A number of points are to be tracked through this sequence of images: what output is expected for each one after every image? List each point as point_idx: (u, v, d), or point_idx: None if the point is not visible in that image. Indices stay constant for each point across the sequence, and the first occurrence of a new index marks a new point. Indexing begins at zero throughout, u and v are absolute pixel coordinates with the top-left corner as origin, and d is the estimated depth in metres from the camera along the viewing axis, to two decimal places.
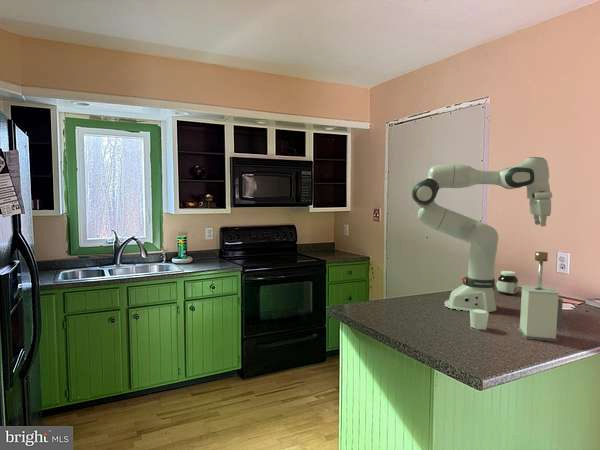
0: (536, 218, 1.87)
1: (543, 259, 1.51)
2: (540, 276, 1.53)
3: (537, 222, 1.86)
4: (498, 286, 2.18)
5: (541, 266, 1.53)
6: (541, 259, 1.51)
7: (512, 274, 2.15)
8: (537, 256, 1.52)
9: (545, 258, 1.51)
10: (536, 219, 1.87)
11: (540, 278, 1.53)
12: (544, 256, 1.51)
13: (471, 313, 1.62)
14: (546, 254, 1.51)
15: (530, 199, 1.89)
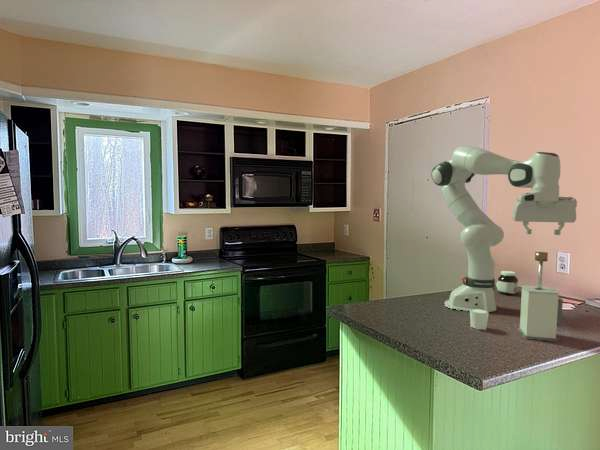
0: (559, 227, 1.51)
1: (543, 259, 1.51)
2: (540, 276, 1.53)
3: (555, 231, 1.51)
4: (498, 286, 2.18)
5: (541, 266, 1.53)
6: (541, 259, 1.51)
7: (512, 274, 2.15)
8: (537, 256, 1.52)
9: (545, 258, 1.51)
10: (558, 228, 1.51)
11: (540, 278, 1.53)
12: (544, 256, 1.51)
13: (471, 313, 1.62)
14: (546, 254, 1.51)
15: None
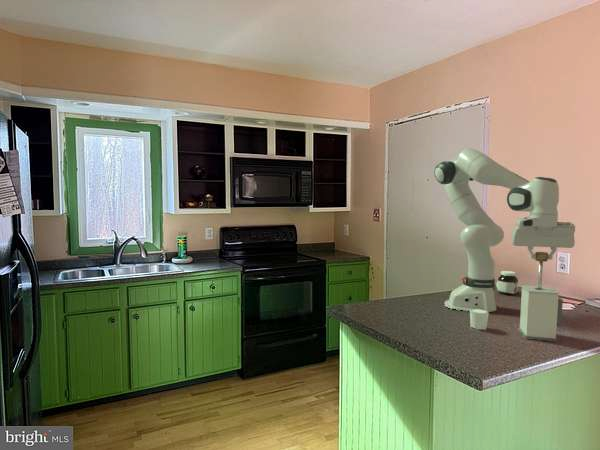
0: (551, 251, 1.52)
1: (543, 259, 1.51)
2: (540, 276, 1.53)
3: None
4: (498, 286, 2.18)
5: (541, 266, 1.53)
6: (541, 259, 1.51)
7: (512, 274, 2.15)
8: (537, 257, 1.52)
9: (545, 258, 1.51)
10: (550, 253, 1.52)
11: (540, 278, 1.53)
12: (544, 257, 1.51)
13: (471, 313, 1.62)
14: (546, 254, 1.51)
15: None
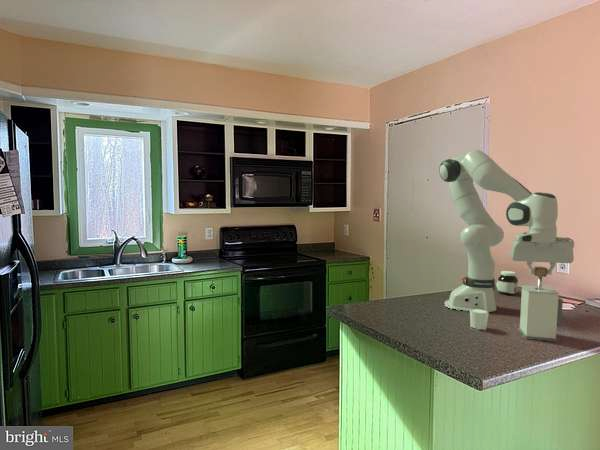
0: (550, 267, 1.53)
1: (542, 274, 1.51)
2: None
3: None
4: (498, 286, 2.18)
5: (540, 281, 1.53)
6: (540, 274, 1.52)
7: (512, 274, 2.15)
8: (536, 272, 1.53)
9: (544, 273, 1.51)
10: (549, 268, 1.53)
11: None
12: (543, 272, 1.51)
13: (471, 313, 1.62)
14: (545, 269, 1.51)
15: None
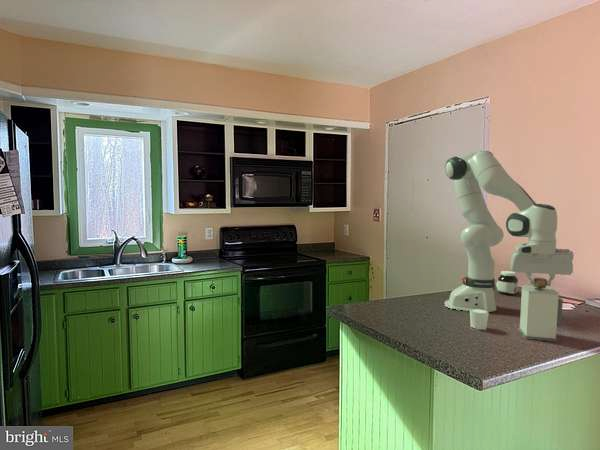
0: (550, 278, 1.53)
1: (542, 286, 1.52)
2: None
3: None
4: (498, 286, 2.18)
5: None
6: (540, 286, 1.52)
7: (512, 274, 2.15)
8: (535, 283, 1.53)
9: (544, 285, 1.52)
10: (549, 279, 1.53)
11: None
12: (542, 283, 1.52)
13: (471, 313, 1.62)
14: (545, 281, 1.52)
15: None
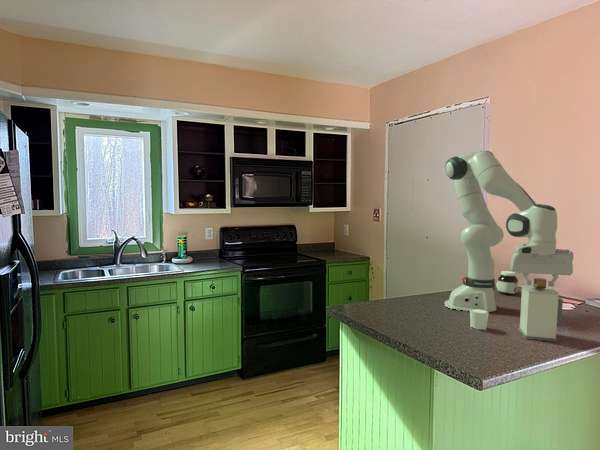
0: (553, 278, 1.53)
1: (541, 286, 1.52)
2: None
3: (549, 283, 1.53)
4: (498, 286, 2.18)
5: None
6: (540, 286, 1.52)
7: (512, 274, 2.15)
8: (535, 283, 1.53)
9: (543, 285, 1.52)
10: (552, 280, 1.53)
11: None
12: (542, 284, 1.52)
13: (471, 313, 1.62)
14: (544, 281, 1.52)
15: None
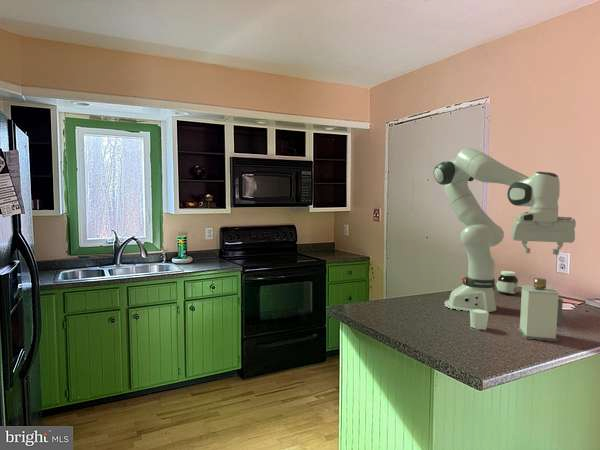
0: (558, 247, 1.51)
1: (541, 286, 1.52)
2: None
3: (553, 251, 1.52)
4: (498, 286, 2.18)
5: None
6: (540, 286, 1.52)
7: (512, 274, 2.15)
8: (535, 283, 1.53)
9: (543, 285, 1.52)
10: (557, 248, 1.51)
11: None
12: (542, 284, 1.52)
13: (471, 313, 1.62)
14: (544, 281, 1.52)
15: None
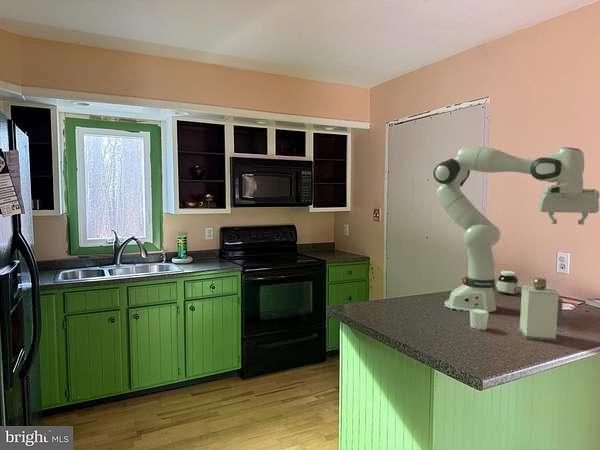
0: (582, 217, 1.63)
1: (541, 286, 1.52)
2: None
3: (578, 221, 1.63)
4: (498, 286, 2.18)
5: None
6: (540, 286, 1.52)
7: (512, 274, 2.15)
8: (535, 283, 1.53)
9: (543, 285, 1.52)
10: (582, 218, 1.63)
11: None
12: (542, 284, 1.52)
13: (471, 313, 1.62)
14: (544, 281, 1.52)
15: None
